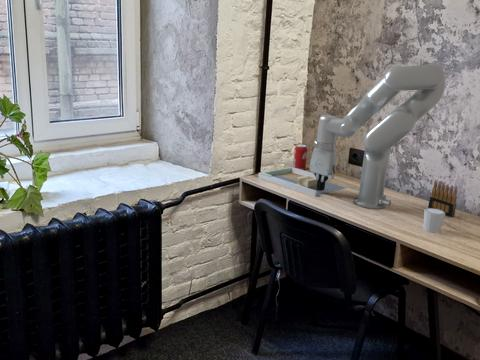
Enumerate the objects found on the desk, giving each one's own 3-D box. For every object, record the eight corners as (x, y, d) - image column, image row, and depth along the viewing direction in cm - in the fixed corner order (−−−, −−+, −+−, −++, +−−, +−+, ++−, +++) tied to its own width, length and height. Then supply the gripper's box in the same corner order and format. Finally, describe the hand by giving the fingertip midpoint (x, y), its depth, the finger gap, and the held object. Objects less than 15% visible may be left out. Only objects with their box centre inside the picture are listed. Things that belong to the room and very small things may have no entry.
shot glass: (444, 230, 173) (448, 211, 171) (437, 235, 168) (441, 215, 166) (425, 224, 177) (429, 206, 175) (418, 229, 172) (421, 210, 170)
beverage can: (306, 171, 242) (308, 147, 238) (293, 170, 242) (295, 146, 238) (304, 168, 248) (307, 144, 244) (292, 167, 248) (294, 143, 244)
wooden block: (316, 188, 208) (317, 179, 207) (307, 190, 205) (308, 180, 203) (306, 184, 213) (307, 175, 212) (296, 186, 209) (297, 177, 208)
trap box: (346, 191, 212) (347, 182, 211) (314, 199, 198) (315, 190, 197) (290, 173, 235) (291, 166, 233) (257, 180, 220) (258, 172, 219)
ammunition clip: (427, 208, 196) (432, 179, 193) (430, 208, 197) (435, 179, 194) (451, 217, 188) (457, 187, 184) (454, 216, 189) (460, 186, 185)
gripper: (305, 143, 200) (300, 186, 205) (335, 151, 190) (329, 196, 195) (316, 141, 205) (311, 184, 210) (346, 149, 195) (340, 193, 200)
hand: (320, 189), depth 202 cm, fingers closed
